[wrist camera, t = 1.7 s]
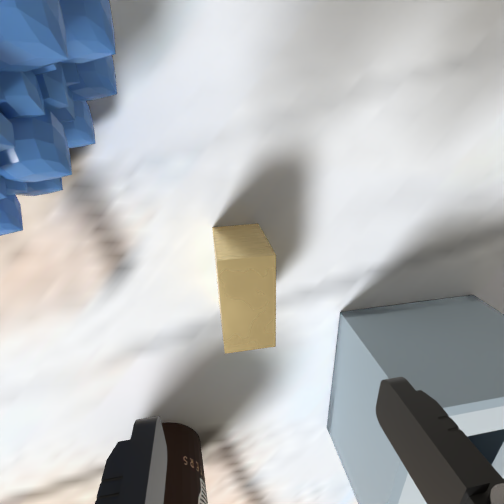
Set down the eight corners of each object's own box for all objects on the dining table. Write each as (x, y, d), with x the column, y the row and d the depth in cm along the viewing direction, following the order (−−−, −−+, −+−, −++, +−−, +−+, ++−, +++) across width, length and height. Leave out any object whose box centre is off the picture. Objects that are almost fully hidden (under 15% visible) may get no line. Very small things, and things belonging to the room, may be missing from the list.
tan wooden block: (212, 227, 19) (216, 260, 15) (258, 223, 19) (275, 254, 15) (219, 304, 22) (224, 353, 17) (259, 299, 22) (275, 346, 17)
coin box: (340, 312, 24) (414, 413, 15) (473, 294, 25) (602, 378, 17) (326, 427, 29) (375, 544, 21) (435, 407, 31) (518, 509, 23)
